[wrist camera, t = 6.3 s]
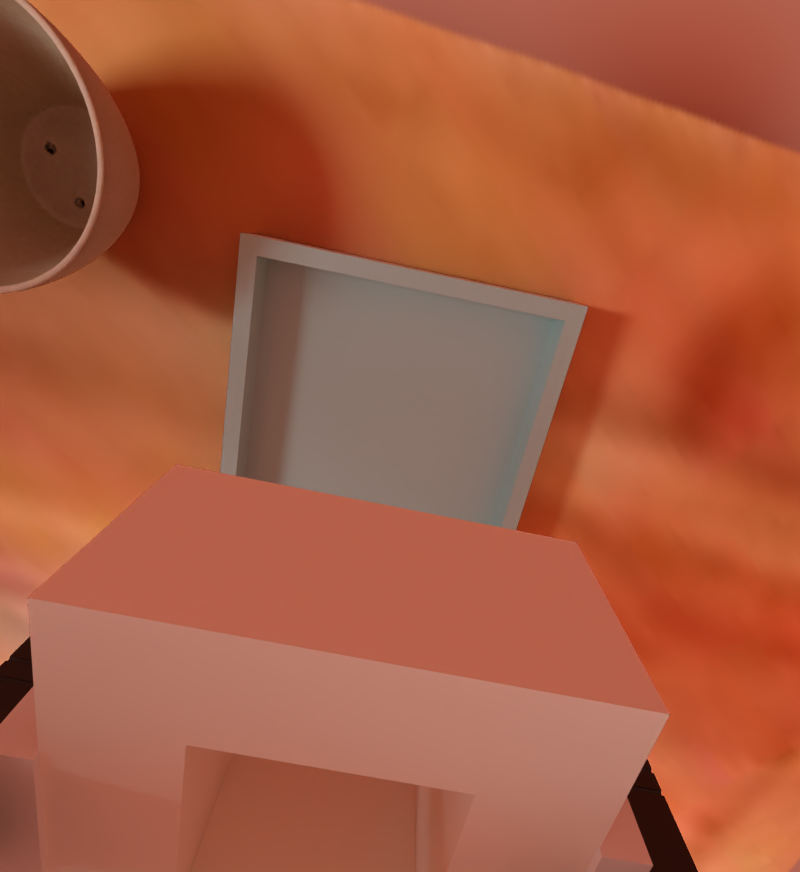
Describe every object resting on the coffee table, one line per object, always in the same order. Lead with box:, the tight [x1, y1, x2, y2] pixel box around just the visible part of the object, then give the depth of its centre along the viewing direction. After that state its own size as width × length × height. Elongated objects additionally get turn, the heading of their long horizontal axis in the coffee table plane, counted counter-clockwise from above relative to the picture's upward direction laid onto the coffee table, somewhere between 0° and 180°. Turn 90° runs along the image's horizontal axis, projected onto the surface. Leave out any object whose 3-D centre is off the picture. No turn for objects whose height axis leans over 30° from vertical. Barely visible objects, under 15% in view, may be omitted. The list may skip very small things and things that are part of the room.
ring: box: [28, 464, 670, 872], centre depth 9 cm, size 8×8×4 cm
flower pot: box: [0, 0, 140, 294], centre depth 20 cm, size 10×10×7 cm
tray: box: [220, 233, 588, 530], centre depth 26 cm, size 16×16×2 cm
